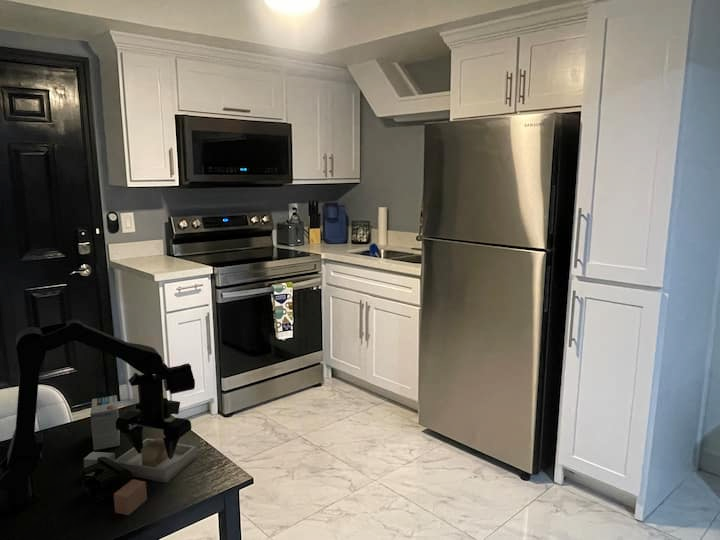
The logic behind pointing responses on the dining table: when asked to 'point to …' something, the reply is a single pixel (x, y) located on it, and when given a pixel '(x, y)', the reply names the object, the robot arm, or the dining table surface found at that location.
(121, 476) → the end cap
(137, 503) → the terracotta block
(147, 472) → the tray
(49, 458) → the dining table surface
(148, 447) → the maple block
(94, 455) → the pale blue block
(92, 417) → the light bulb box
